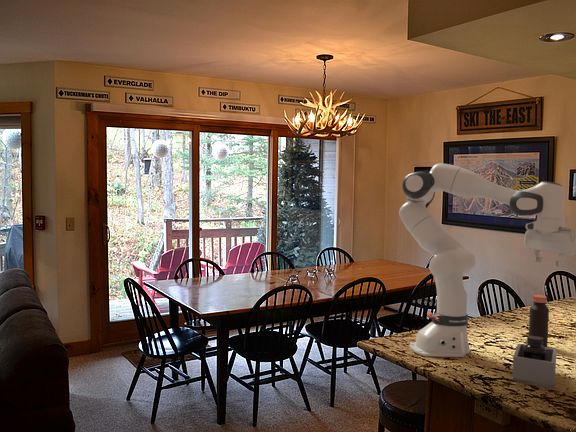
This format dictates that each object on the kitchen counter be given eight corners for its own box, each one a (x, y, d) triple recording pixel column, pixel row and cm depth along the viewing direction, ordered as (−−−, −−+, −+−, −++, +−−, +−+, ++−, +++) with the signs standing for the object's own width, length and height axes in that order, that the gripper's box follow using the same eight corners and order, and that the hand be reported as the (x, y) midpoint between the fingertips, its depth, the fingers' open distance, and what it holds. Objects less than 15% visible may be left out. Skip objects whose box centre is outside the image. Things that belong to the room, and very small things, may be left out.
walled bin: (553, 388, 162) (554, 363, 161) (512, 380, 167) (513, 356, 167) (555, 372, 176) (556, 349, 175) (517, 365, 181) (518, 343, 181)
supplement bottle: (548, 373, 171) (550, 337, 171) (541, 378, 167) (542, 342, 166) (527, 367, 176) (528, 333, 176) (519, 372, 171) (520, 337, 171)
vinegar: (549, 349, 200) (551, 298, 199) (530, 347, 202) (532, 297, 201) (544, 343, 207) (546, 294, 206) (526, 342, 208) (528, 293, 207)
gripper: (581, 228, 178) (579, 268, 179) (535, 224, 197) (533, 259, 198) (568, 228, 176) (566, 268, 176) (522, 224, 195) (520, 260, 196)
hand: (548, 264), depth 187 cm, fingers open, 8 cm apart
